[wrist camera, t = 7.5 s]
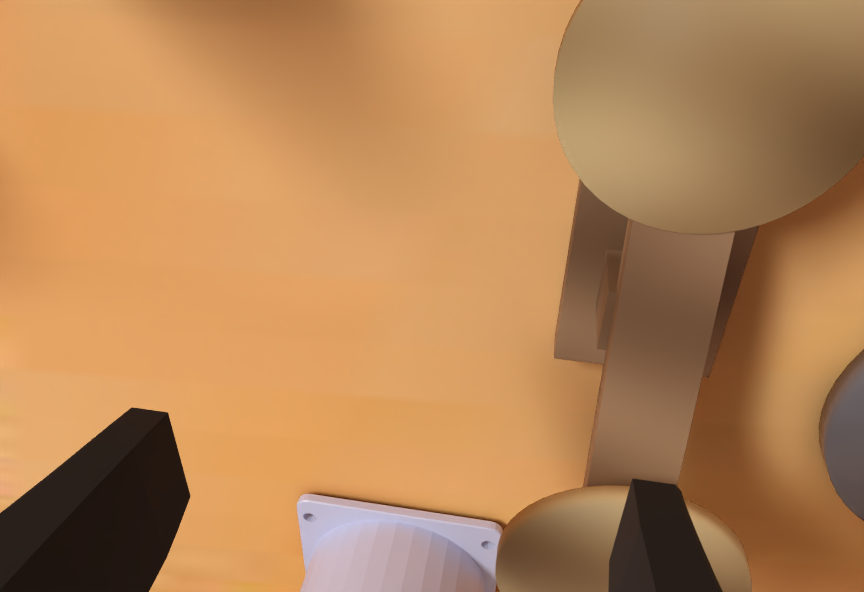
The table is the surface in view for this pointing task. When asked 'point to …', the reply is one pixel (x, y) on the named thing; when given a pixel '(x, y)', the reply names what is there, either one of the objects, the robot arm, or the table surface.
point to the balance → (675, 232)
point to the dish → (845, 435)
